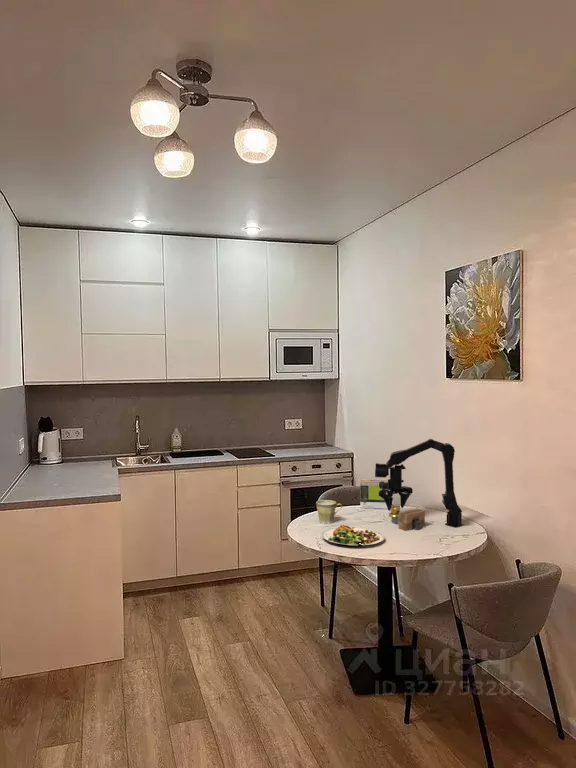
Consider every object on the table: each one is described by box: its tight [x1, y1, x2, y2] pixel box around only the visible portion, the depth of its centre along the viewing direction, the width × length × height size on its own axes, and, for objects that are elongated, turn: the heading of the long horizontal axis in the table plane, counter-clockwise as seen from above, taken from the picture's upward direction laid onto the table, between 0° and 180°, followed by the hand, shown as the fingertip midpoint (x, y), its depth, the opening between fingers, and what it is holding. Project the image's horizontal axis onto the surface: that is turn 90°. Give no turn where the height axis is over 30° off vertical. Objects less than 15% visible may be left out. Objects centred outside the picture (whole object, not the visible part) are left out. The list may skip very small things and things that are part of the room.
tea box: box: [359, 478, 388, 510], centre depth 315 cm, size 15×10×15 cm
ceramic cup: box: [315, 499, 343, 525], centre depth 283 cm, size 13×10×10 cm
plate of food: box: [321, 524, 386, 546], centre depth 254 cm, size 28×28×6 cm
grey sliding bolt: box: [388, 504, 422, 530], centre depth 277 cm, size 18×6×8 cm, turn 36°
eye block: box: [397, 508, 426, 531], centre depth 273 cm, size 5×13×8 cm, turn 126°
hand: (395, 509), depth 282 cm, fingers open, 9 cm apart
